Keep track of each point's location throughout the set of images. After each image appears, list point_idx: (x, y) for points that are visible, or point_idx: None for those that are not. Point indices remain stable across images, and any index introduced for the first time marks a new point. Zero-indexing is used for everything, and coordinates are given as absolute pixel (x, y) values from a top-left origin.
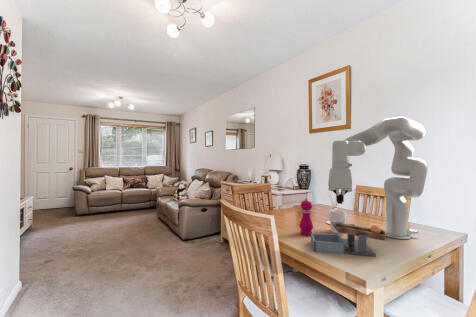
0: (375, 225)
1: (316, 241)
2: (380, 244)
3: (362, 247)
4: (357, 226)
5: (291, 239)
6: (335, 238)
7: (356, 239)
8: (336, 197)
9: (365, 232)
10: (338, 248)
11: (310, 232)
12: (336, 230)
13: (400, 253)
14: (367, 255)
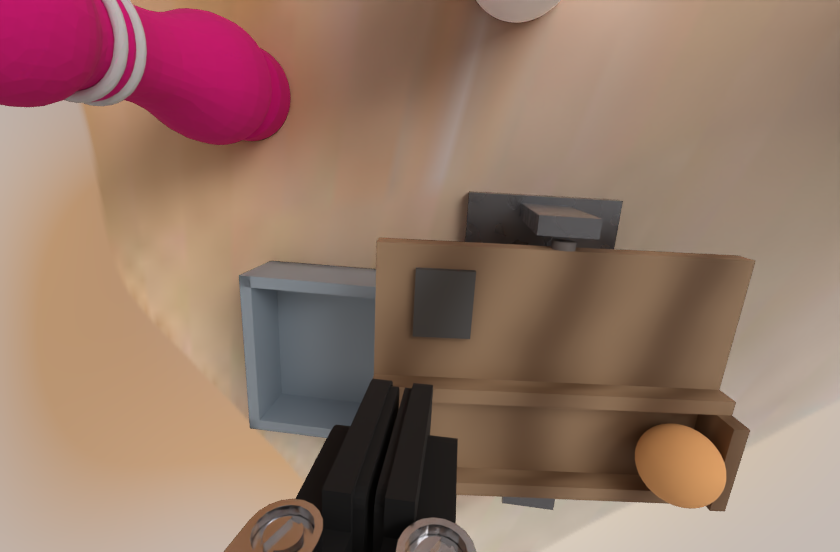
0: (694, 496)
1: (263, 428)
2: (733, 241)
3: None
4: (606, 277)
5: (159, 228)
6: None
7: (585, 205)
8: (309, 486)
9: (562, 494)
10: None
11: (265, 125)
12: (495, 12)
13: (758, 380)
14: None
